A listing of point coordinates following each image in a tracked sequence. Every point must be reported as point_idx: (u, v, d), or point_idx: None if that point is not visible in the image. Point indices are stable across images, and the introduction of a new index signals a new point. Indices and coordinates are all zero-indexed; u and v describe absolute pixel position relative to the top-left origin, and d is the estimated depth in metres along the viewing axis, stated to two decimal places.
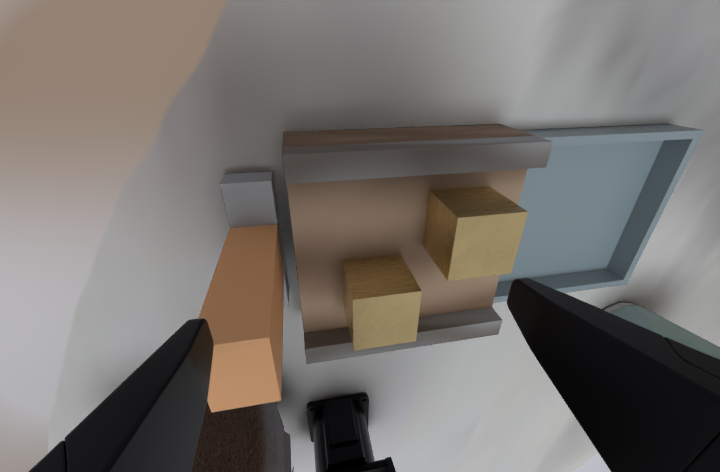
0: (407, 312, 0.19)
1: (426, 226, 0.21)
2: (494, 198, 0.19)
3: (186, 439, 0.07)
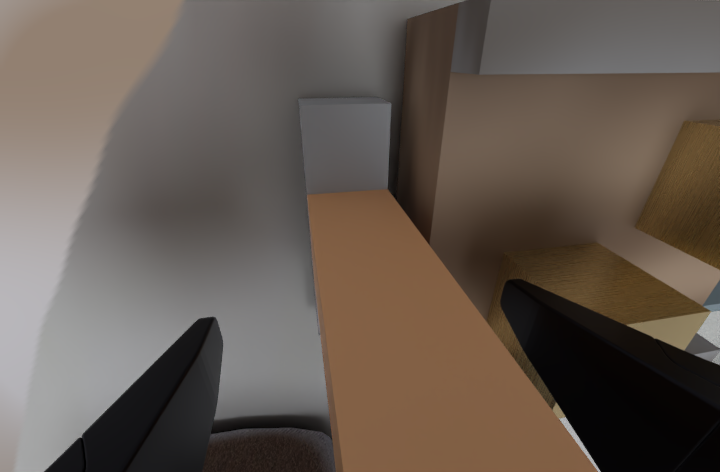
0: None
1: (658, 191, 0.12)
2: None
3: (198, 437, 0.07)
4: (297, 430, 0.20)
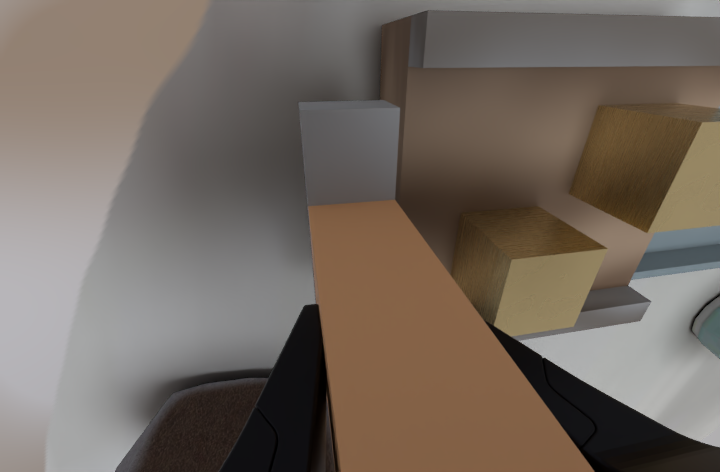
0: (577, 282, 0.13)
1: (583, 163, 0.15)
2: (712, 110, 0.12)
3: (324, 414, 0.07)
4: None
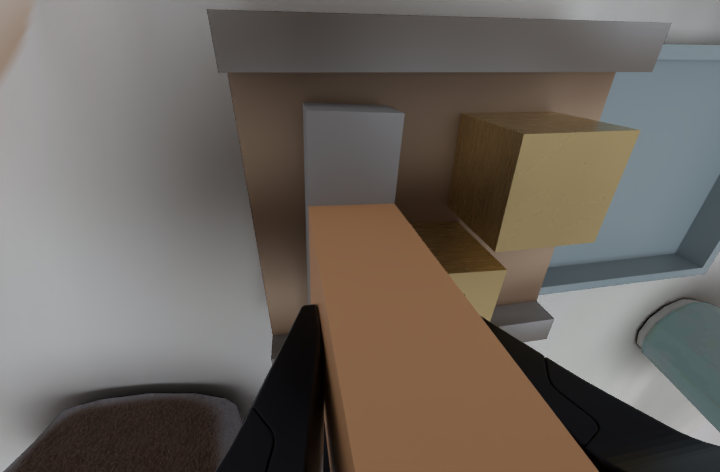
0: (478, 302, 0.12)
1: (454, 174, 0.14)
2: (570, 119, 0.12)
3: (322, 414, 0.07)
4: (200, 396, 0.22)
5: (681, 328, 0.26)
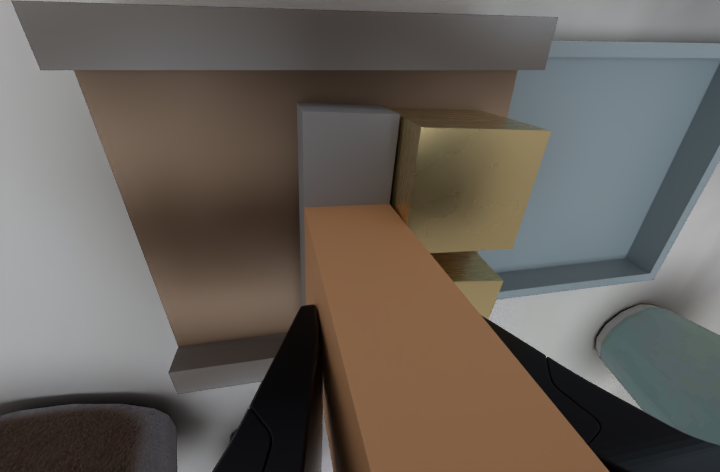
0: None
1: None
2: (490, 118, 0.11)
3: (320, 415, 0.07)
4: (127, 406, 0.21)
5: (635, 334, 0.26)
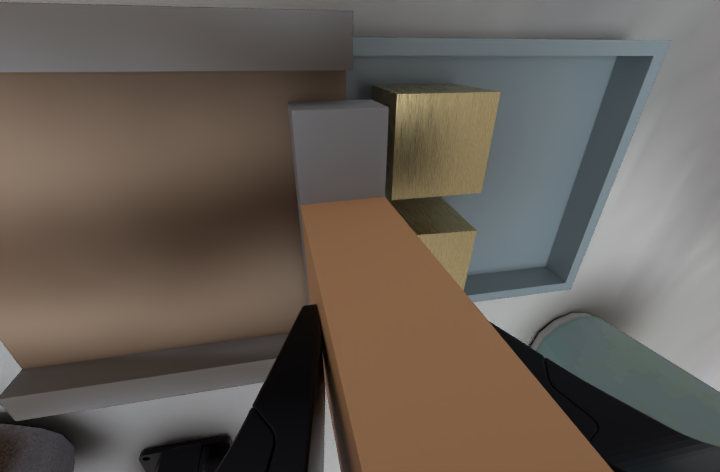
0: None
1: (399, 161, 0.13)
2: (418, 85, 0.14)
3: (322, 414, 0.07)
4: (11, 426, 0.20)
5: (563, 345, 0.24)
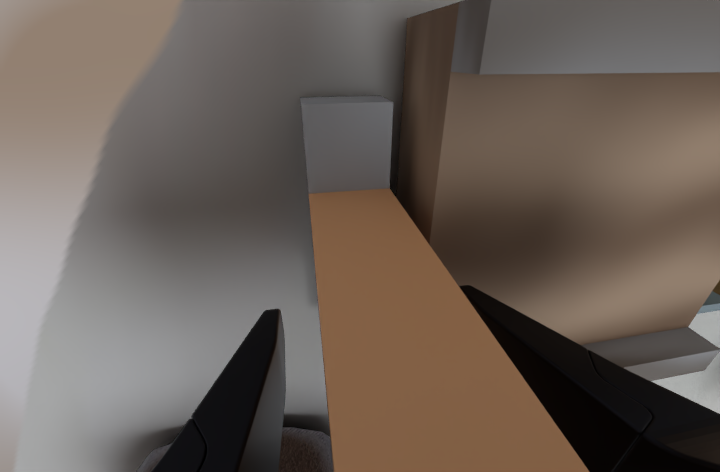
0: None
1: None
2: None
3: (277, 422, 0.07)
4: (297, 430, 0.20)
5: None
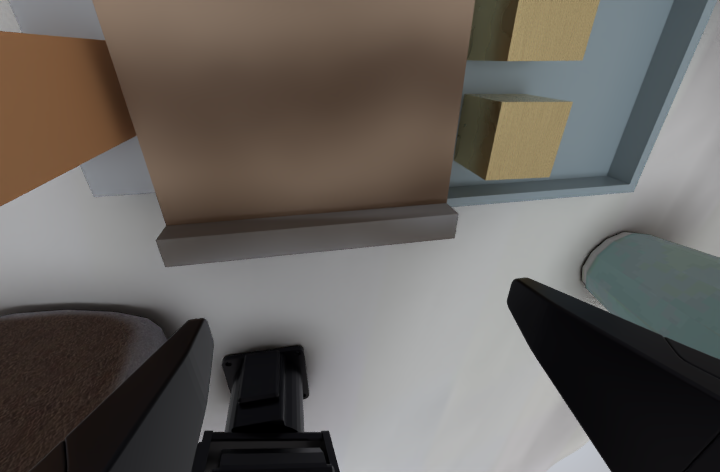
0: None
1: (519, 20, 0.14)
2: None
3: (186, 439, 0.07)
4: (120, 314, 0.21)
5: (619, 256, 0.26)
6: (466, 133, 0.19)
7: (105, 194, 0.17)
